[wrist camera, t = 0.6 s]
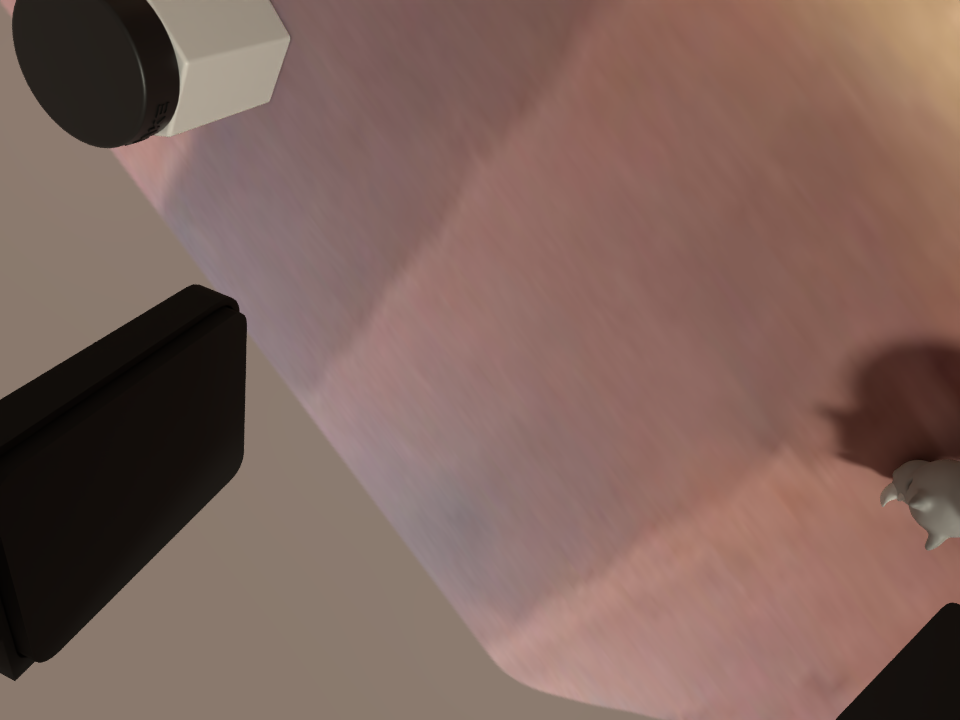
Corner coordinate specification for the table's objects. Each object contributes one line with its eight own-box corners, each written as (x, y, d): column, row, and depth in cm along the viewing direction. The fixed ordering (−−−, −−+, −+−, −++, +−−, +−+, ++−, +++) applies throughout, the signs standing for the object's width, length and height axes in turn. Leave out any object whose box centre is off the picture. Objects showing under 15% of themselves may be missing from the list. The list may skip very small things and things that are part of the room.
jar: (187, 97, 48) (36, 142, 39) (158, -42, 44) (-20, -30, 34) (301, 108, 46) (168, 159, 36) (282, -39, 41) (126, -25, 32)
